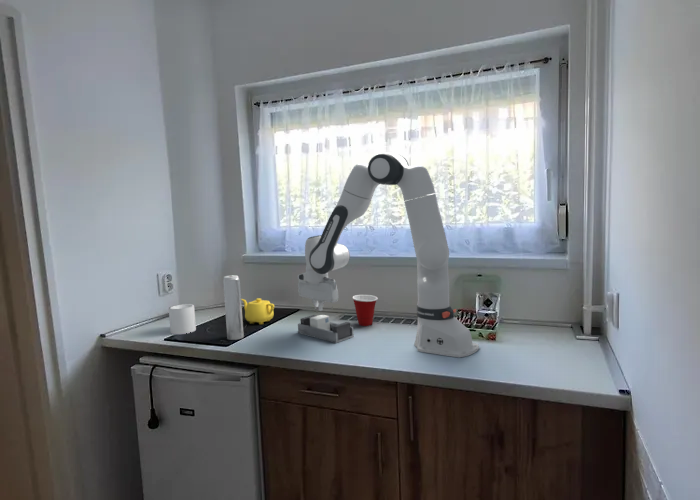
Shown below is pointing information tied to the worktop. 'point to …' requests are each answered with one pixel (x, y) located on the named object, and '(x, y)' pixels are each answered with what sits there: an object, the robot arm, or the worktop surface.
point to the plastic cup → (365, 308)
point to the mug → (182, 319)
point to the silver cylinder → (233, 307)
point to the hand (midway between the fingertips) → (318, 310)
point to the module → (320, 322)
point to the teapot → (258, 311)
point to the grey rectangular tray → (334, 335)
